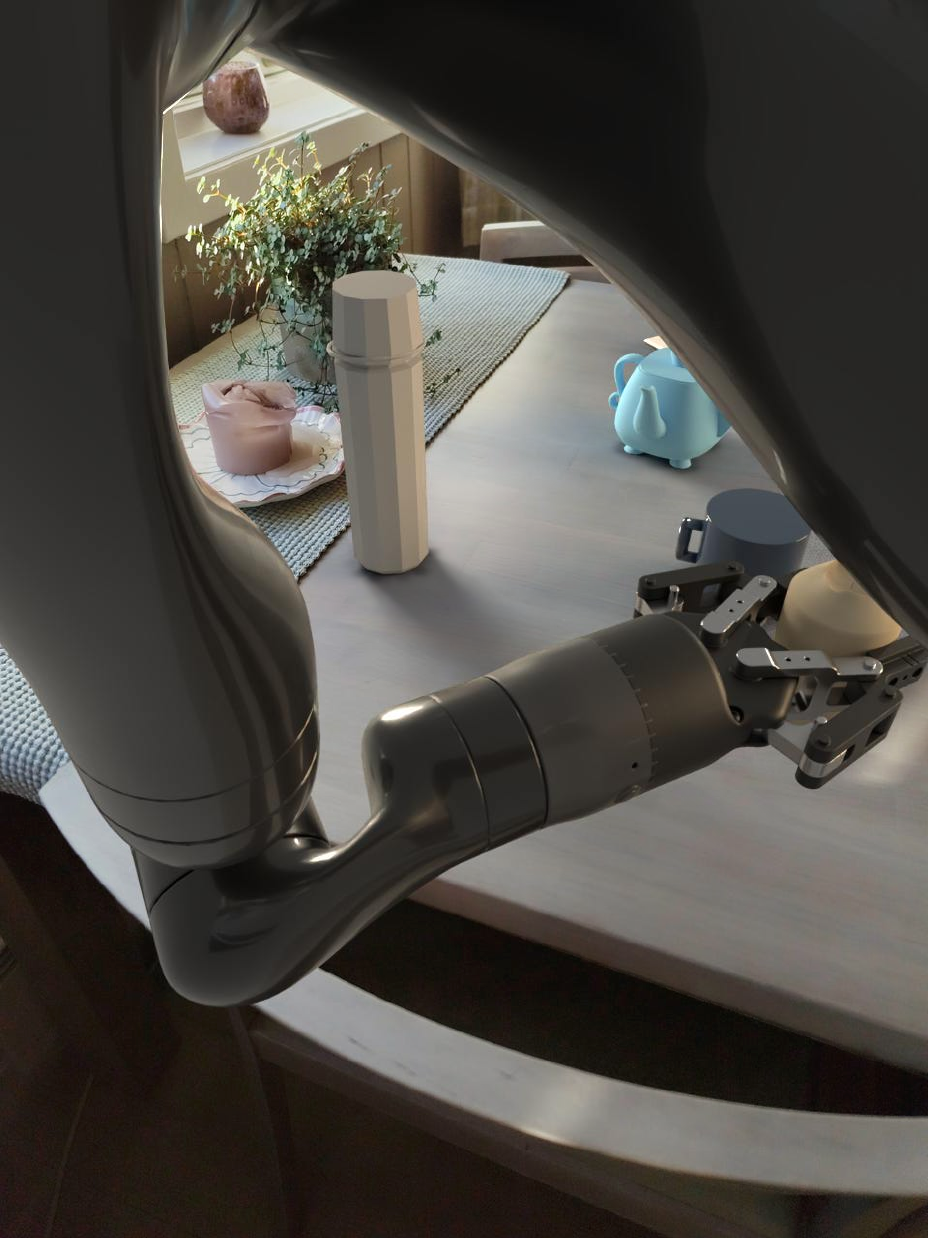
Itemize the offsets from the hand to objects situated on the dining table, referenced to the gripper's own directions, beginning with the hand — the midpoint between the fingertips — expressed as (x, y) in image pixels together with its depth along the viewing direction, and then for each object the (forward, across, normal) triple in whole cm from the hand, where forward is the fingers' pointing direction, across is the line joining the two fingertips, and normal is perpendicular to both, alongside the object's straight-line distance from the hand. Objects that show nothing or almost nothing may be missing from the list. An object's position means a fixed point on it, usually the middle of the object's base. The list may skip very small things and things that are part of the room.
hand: (871, 615), depth 45 cm
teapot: (+25, +46, +19) cm, 56 cm away
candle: (-3, 0, +7) cm, 7 cm away
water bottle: (-11, +42, +19) cm, 47 cm away
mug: (+15, +22, +19) cm, 33 cm away
